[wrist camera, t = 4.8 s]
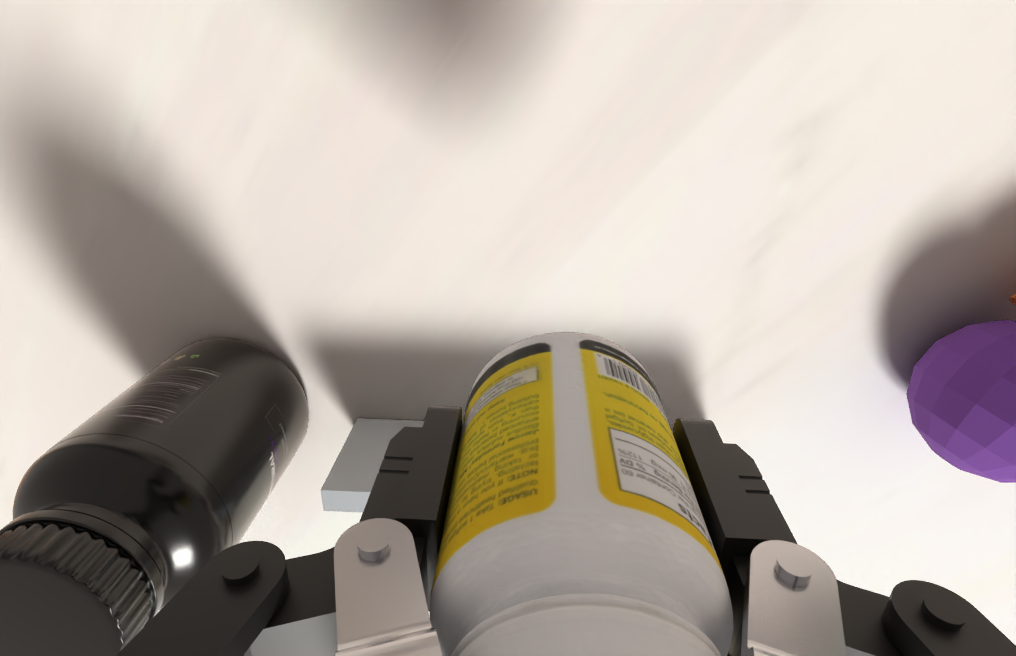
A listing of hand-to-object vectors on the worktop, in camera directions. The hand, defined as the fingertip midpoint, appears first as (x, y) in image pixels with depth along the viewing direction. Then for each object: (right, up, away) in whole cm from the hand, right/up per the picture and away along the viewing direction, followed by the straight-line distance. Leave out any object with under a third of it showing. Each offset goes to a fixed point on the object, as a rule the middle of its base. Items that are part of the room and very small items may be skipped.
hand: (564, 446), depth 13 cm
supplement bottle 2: (0, +1, +2) cm, 2 cm away
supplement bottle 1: (-14, 0, +14) cm, 19 cm away
